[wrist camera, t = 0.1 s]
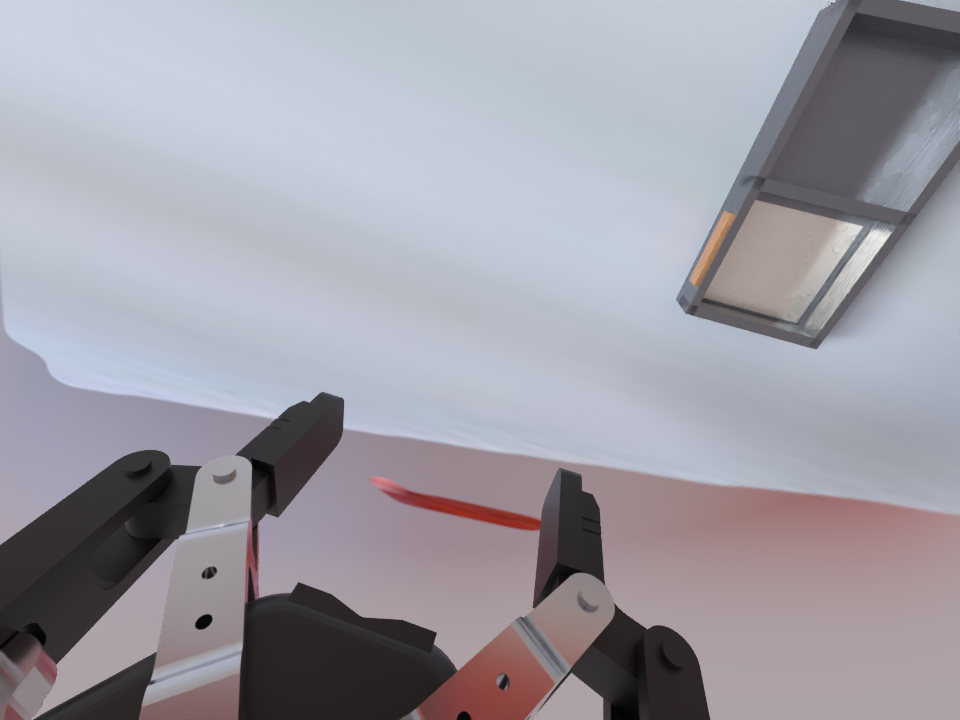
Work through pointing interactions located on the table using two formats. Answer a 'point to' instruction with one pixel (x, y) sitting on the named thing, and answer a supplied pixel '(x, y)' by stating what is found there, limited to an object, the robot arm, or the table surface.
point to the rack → (834, 171)
